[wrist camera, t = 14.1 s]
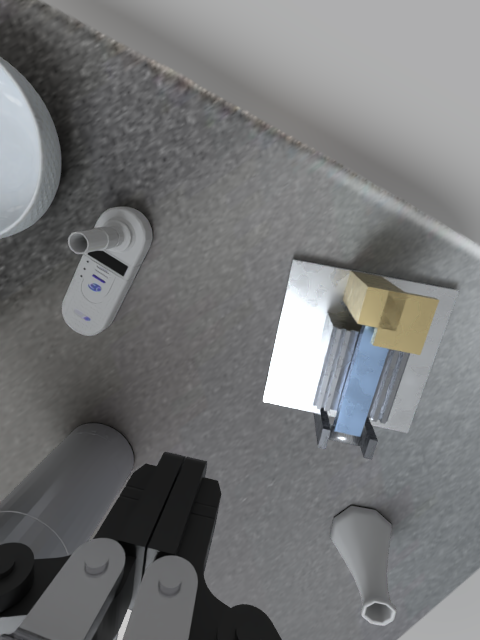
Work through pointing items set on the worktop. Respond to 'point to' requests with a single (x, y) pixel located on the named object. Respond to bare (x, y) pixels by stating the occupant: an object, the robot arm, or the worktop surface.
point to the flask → (366, 558)
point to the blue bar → (358, 389)
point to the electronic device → (105, 268)
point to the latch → (390, 312)
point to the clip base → (307, 332)
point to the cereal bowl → (25, 153)
